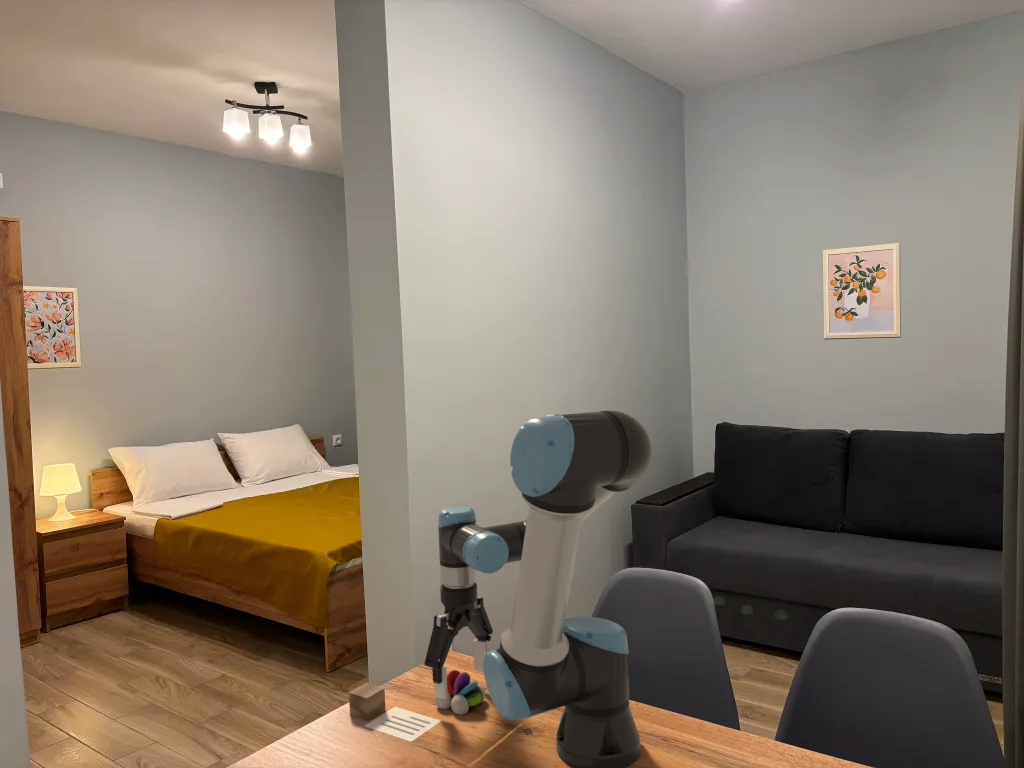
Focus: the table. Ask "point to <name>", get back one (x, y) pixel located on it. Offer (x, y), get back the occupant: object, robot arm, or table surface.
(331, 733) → the table surface
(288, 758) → the table surface
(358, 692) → the walnut block
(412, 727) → the letter
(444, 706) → the rainbow petal toy
